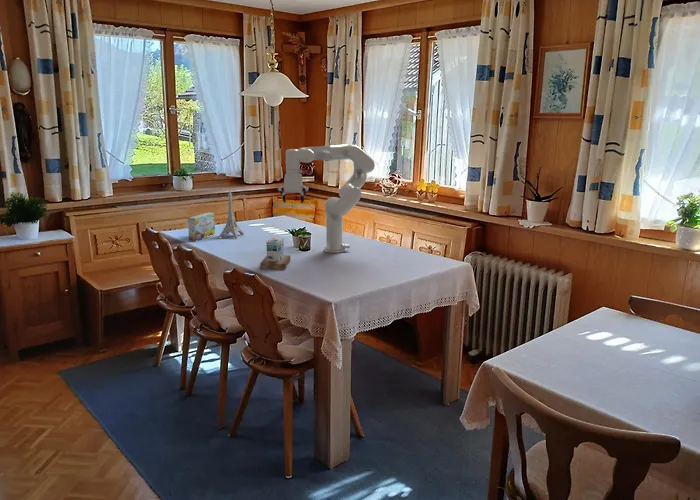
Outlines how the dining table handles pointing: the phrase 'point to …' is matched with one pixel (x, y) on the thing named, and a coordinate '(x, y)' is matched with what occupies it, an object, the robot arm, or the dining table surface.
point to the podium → (275, 263)
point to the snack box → (201, 226)
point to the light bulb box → (275, 249)
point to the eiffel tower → (231, 221)
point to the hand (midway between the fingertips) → (293, 202)
